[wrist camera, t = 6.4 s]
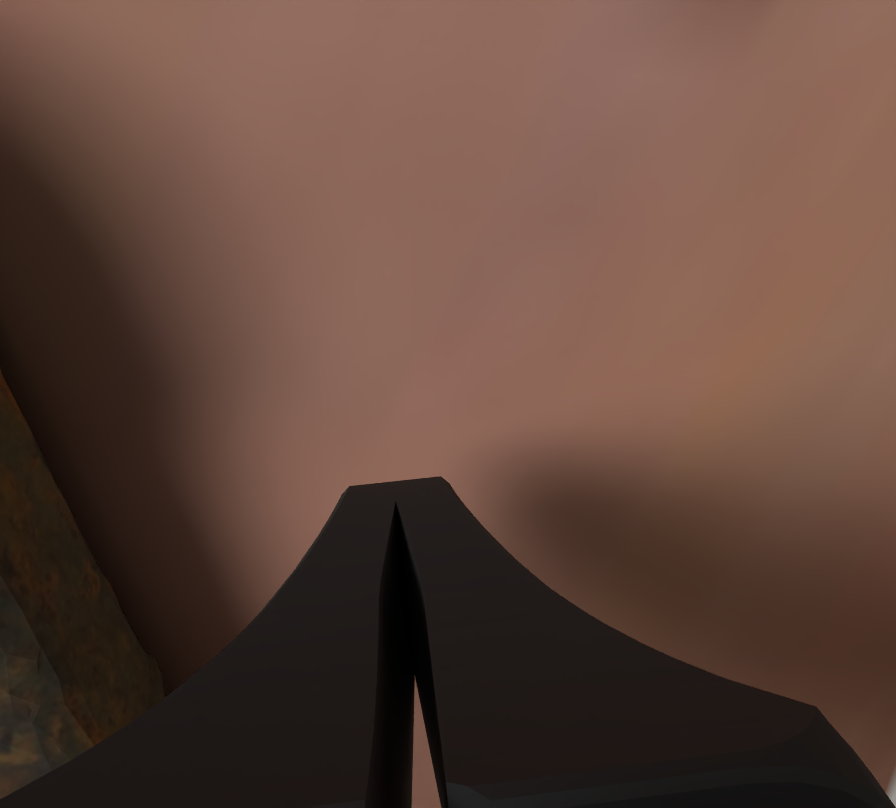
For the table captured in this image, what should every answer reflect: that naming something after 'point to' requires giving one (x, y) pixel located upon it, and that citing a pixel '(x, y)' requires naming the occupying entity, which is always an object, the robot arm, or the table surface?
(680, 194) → the table surface
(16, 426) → the brown rough log
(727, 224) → the table surface
